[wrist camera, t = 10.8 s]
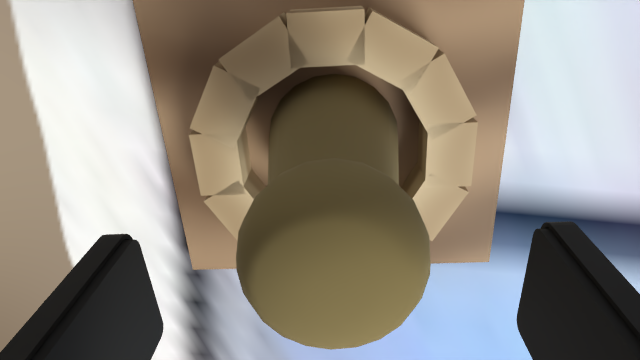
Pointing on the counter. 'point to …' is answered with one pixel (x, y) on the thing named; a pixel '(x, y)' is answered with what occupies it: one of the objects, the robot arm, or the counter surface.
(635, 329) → the robot arm
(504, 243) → the counter surface
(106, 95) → the counter surface
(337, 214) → the cork
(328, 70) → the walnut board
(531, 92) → the counter surface
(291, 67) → the beech ring
